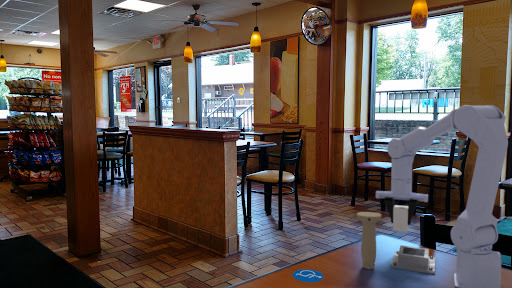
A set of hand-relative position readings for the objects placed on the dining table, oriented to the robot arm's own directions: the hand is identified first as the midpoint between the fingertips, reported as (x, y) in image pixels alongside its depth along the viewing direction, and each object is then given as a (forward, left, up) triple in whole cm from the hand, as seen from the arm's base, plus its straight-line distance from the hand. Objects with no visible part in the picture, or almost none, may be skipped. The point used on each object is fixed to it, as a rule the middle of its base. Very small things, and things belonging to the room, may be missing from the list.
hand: (400, 223), depth 115 cm
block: (0, 0, -2) cm, 2 cm away
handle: (+7, +15, -10) cm, 19 cm away
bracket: (-4, +7, -9) cm, 12 cm away
